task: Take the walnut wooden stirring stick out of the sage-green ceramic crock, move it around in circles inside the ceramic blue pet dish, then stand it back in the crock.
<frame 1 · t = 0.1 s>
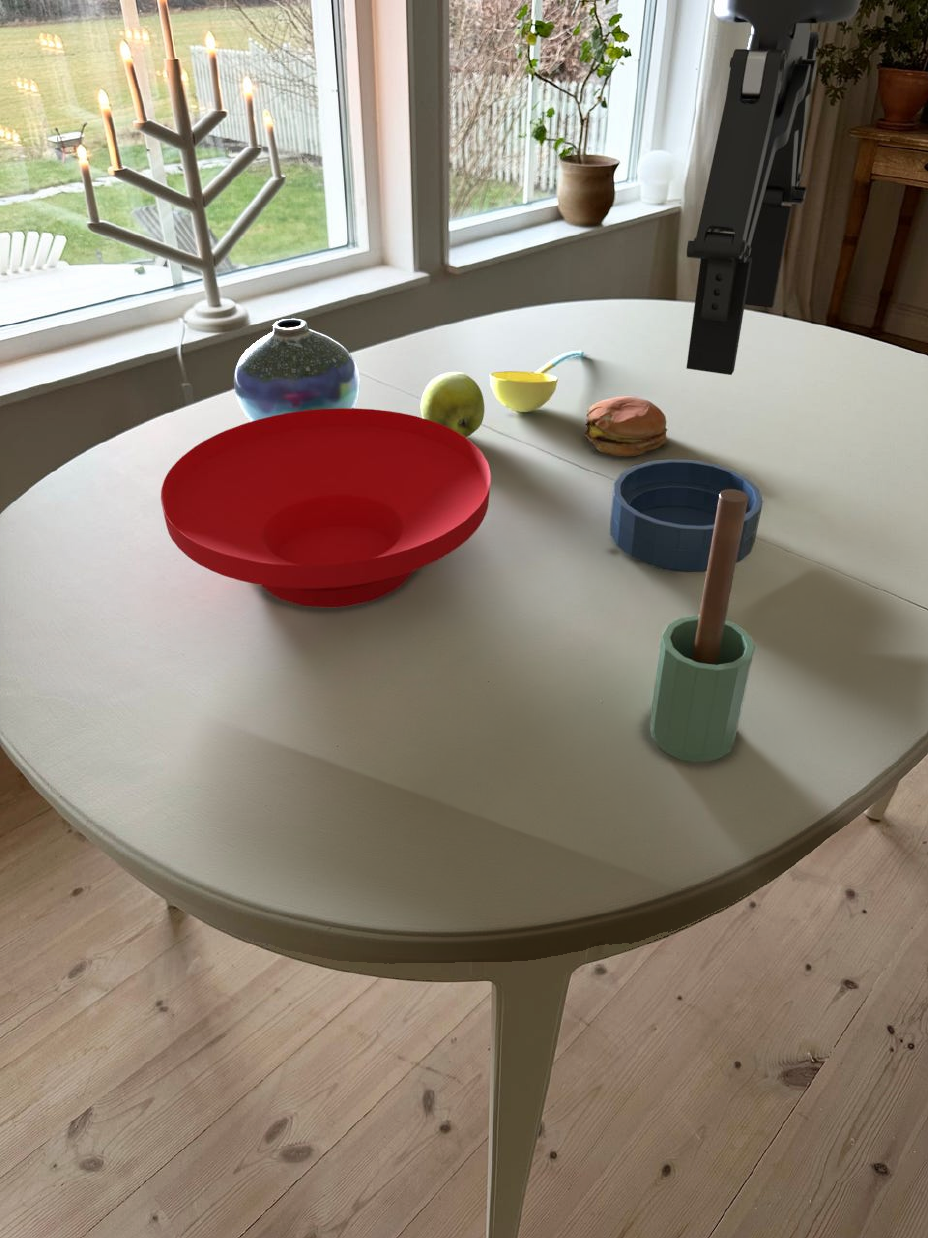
hand: (733, 334, 61), 29 cm above the table, tool pointing down, fingers open, 13 cm apart
ladle: (547, 387, 128), on the table
apple: (453, 438, 115), on the table
blue pet dish: (680, 539, 95), on the table
burger: (624, 443, 114), on the table
stick: (693, 725, 71), point 1 cm above the table, touching crock
vase: (303, 428, 118), on the table
crock: (691, 733, 71), on the table
bowl: (338, 564, 92), on the table
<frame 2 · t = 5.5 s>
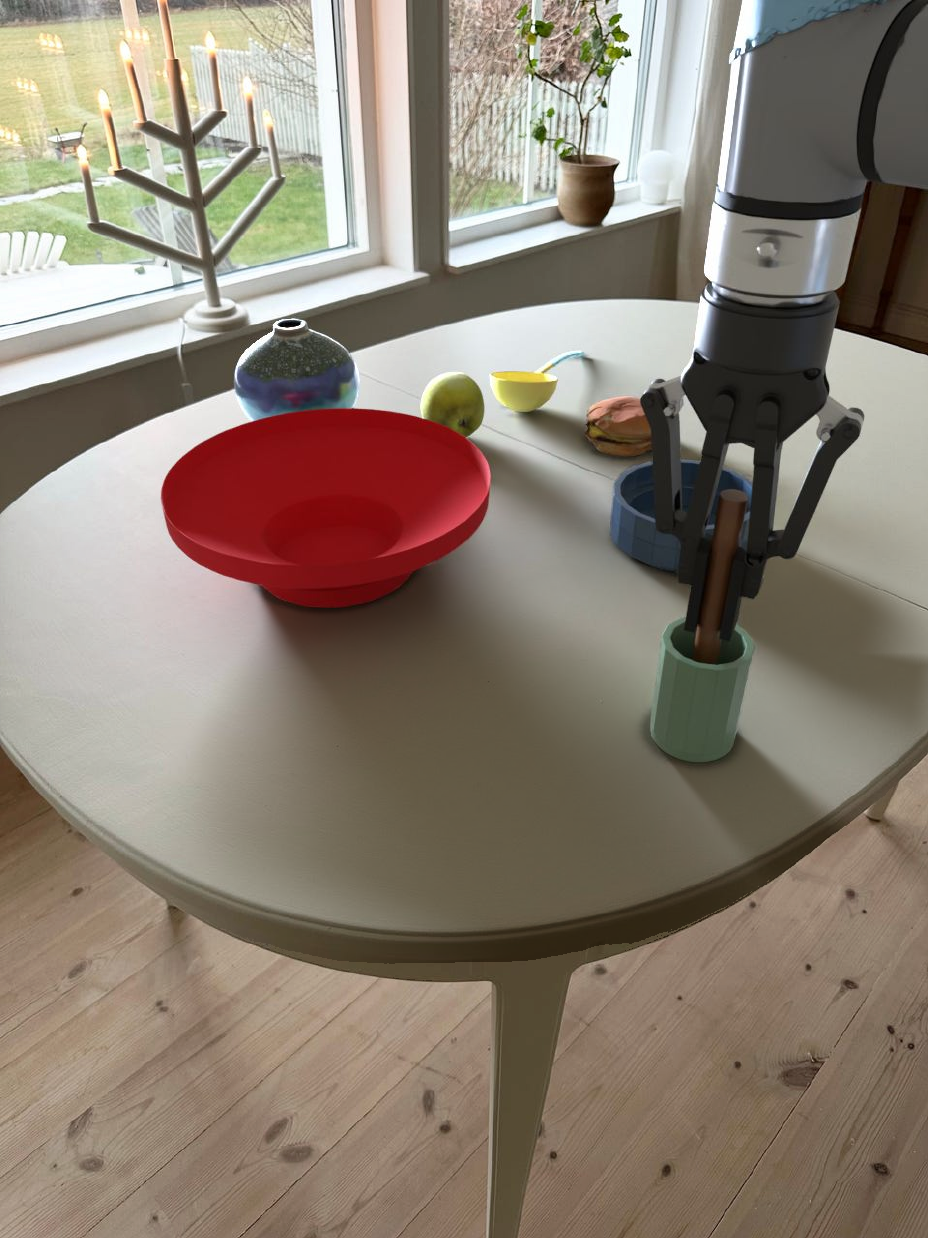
hand: (711, 624, 65), 10 cm above the table, tool pointing down, fingers closed on stick, 2 cm apart
stick: (693, 725, 71), point 1 cm above the table, touching crock, gripper
everything else where it was.
when the fingers open (10 cm above the table, at t = 22.6 s): stick stays where it is, resting on crock.
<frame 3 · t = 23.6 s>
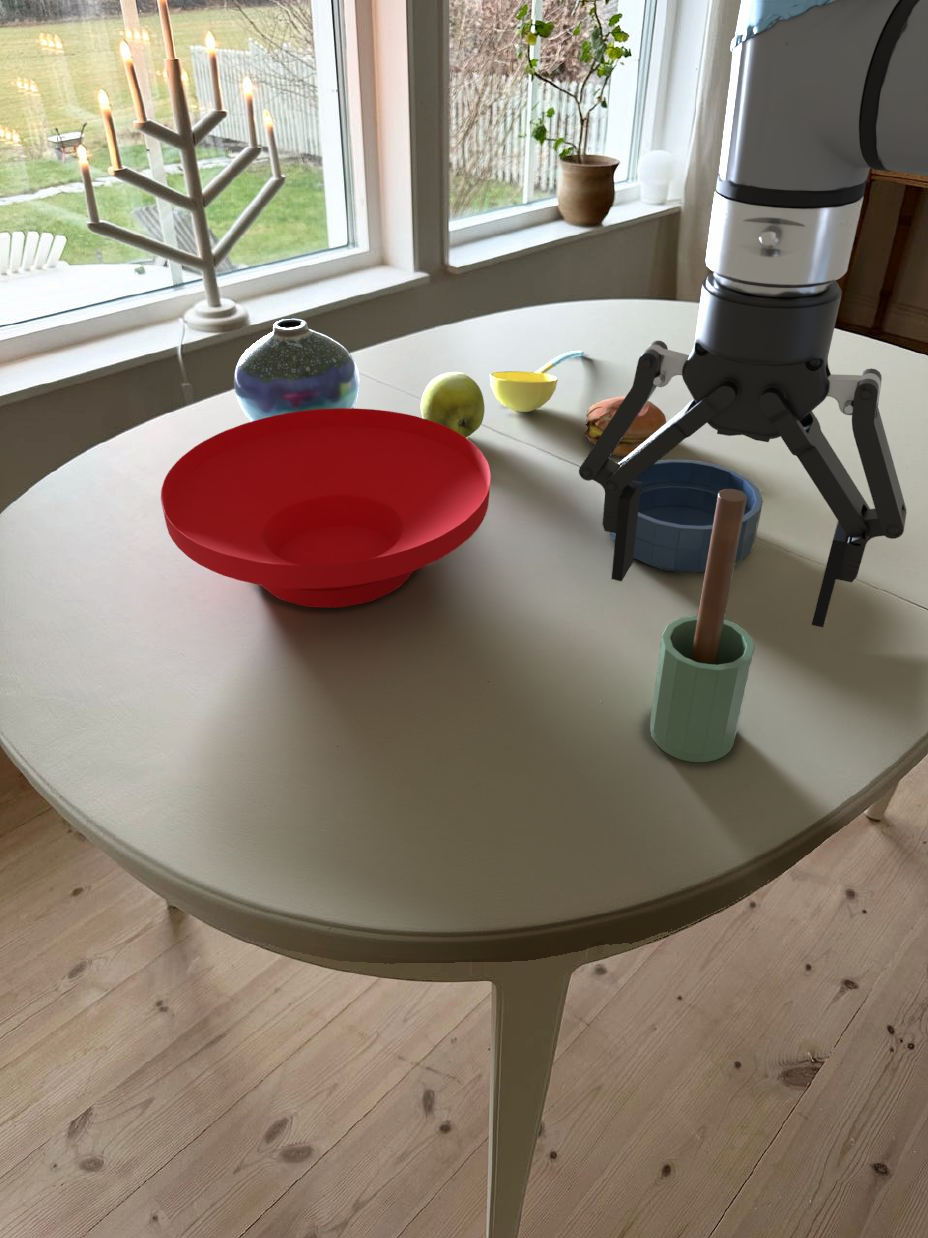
hand: (717, 592, 64), 13 cm above the table, tool pointing down, fingers open, 13 cm apart
stick: (692, 725, 71), point 1 cm above the table, touching crock
everything else where it was.
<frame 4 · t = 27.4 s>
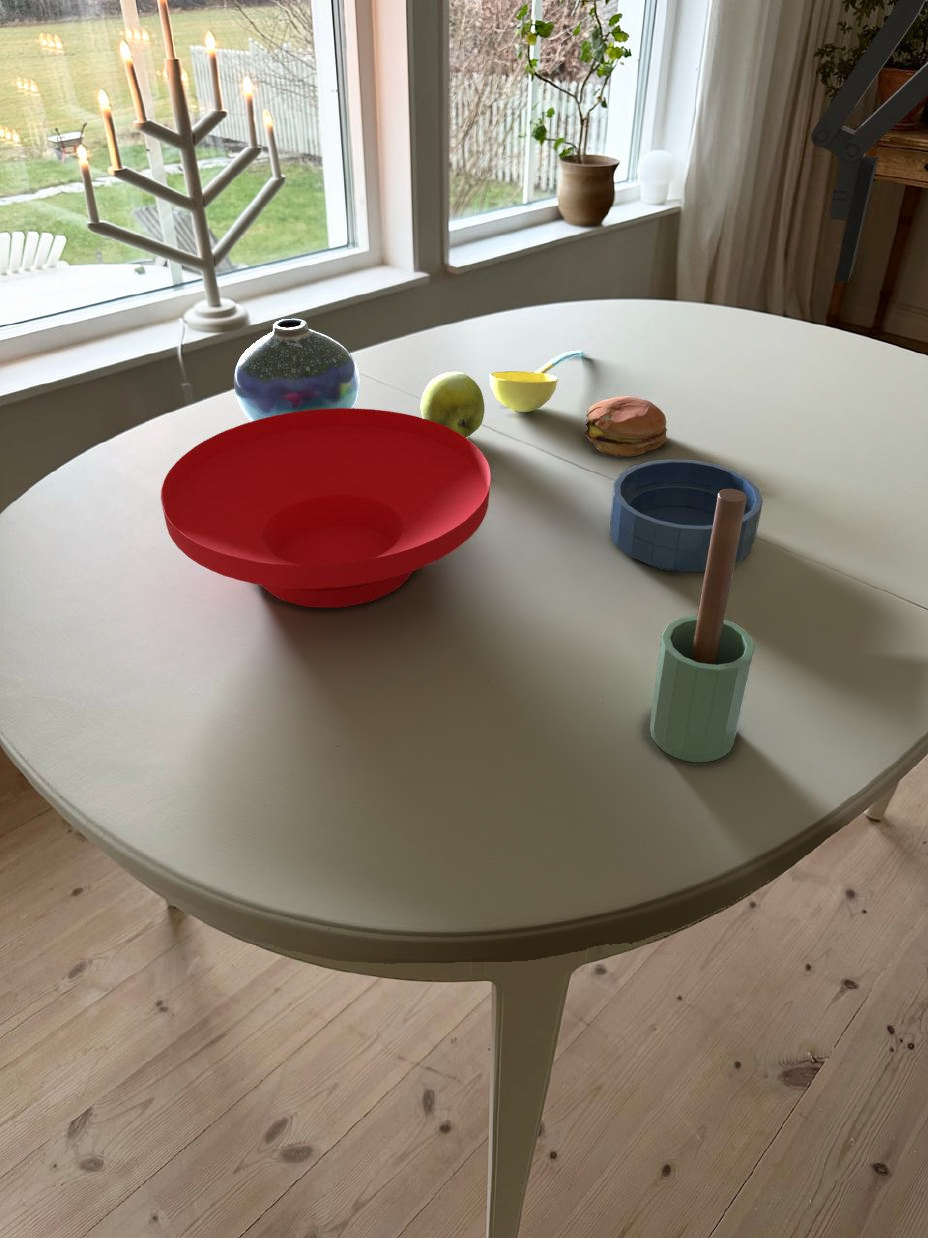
nothing on the table moved.
at the end: stick 0.1 cm off-centre in the crock, point 0.8 cm above the crock's base; stick tilted 0°; stick touching crock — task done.
